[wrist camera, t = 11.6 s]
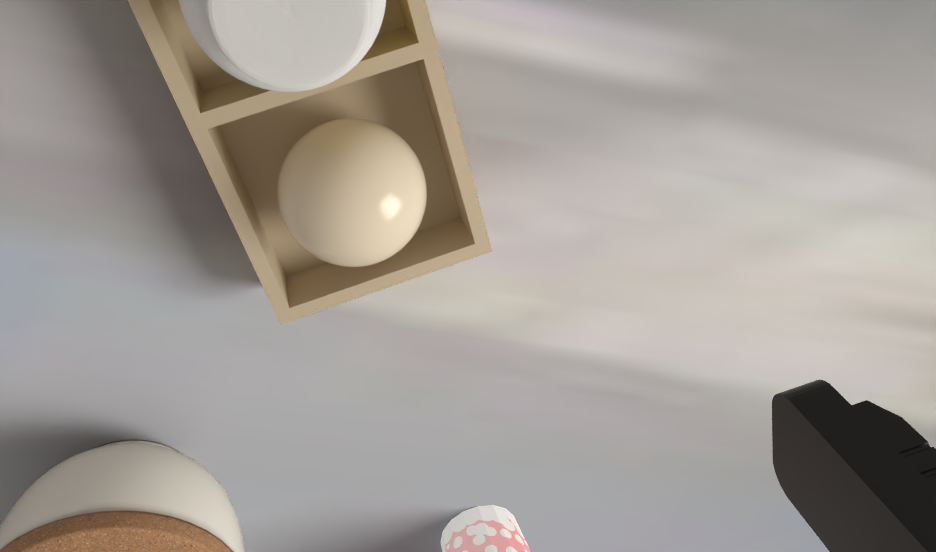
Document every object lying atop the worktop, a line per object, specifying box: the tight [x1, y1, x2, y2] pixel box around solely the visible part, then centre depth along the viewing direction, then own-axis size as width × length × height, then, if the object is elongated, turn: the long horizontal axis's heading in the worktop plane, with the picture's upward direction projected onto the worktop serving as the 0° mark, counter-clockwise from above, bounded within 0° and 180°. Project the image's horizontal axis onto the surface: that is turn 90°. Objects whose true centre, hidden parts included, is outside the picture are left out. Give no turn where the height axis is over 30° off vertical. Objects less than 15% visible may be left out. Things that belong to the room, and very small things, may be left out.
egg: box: [277, 118, 427, 267], centre depth 30 cm, size 6×6×6 cm
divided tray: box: [128, 0, 492, 324], centre depth 29 cm, size 9×18×3 cm, turn 14°
